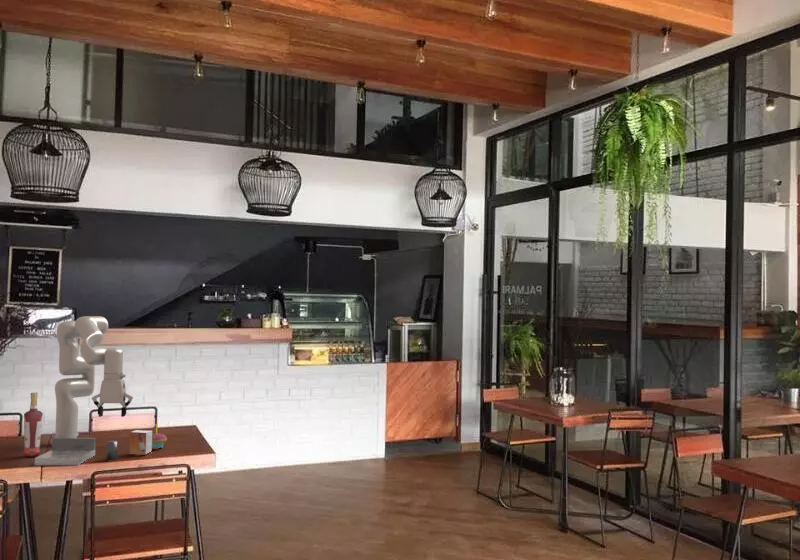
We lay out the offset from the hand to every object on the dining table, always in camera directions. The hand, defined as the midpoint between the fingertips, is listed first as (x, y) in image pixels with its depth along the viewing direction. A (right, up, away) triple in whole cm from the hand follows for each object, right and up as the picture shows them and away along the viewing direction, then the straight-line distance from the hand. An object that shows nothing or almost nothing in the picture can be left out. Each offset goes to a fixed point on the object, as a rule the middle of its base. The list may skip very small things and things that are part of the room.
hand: (112, 416), depth 294 cm
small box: (+8, -20, +11) cm, 24 cm away
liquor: (-37, -19, +4) cm, 42 cm away
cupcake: (+11, -20, +23) cm, 33 cm away
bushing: (0, -19, -1) cm, 19 cm away
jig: (-19, -19, -3) cm, 27 cm away
